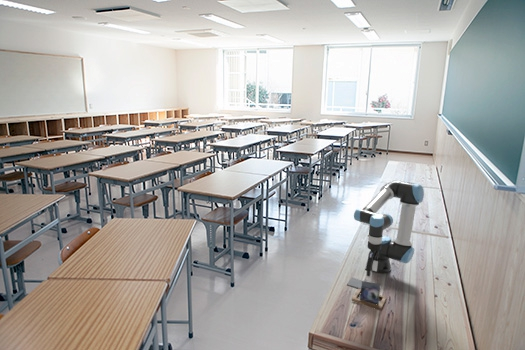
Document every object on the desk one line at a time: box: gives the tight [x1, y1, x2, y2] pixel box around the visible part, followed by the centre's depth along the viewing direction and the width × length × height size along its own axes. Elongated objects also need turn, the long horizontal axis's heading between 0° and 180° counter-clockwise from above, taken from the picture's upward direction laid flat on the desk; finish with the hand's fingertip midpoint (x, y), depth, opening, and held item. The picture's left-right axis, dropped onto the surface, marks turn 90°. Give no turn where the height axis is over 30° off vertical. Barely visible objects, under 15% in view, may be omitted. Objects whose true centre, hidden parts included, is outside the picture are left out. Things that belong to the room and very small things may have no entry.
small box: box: [359, 280, 381, 305], centre depth 202 cm, size 11×6×10 cm, turn 70°
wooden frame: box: [351, 288, 387, 312], centre depth 203 cm, size 13×17×2 cm
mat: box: [346, 277, 367, 290], centre depth 221 cm, size 10×10×1 cm
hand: (371, 275), depth 200 cm, fingers open, 13 cm apart
